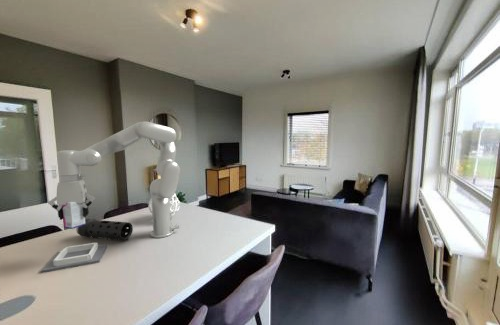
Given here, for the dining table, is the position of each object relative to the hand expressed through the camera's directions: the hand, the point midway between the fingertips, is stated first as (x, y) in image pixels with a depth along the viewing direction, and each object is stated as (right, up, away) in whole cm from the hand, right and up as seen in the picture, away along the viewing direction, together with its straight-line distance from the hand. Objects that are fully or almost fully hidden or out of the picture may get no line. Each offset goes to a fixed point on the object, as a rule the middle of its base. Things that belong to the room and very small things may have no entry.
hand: (74, 217), depth 98 cm
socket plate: (0, -19, +2) cm, 19 cm away
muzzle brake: (0, -18, +22) cm, 28 cm away
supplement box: (0, -4, 0) cm, 4 cm away
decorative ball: (+21, -14, +52) cm, 57 cm away
